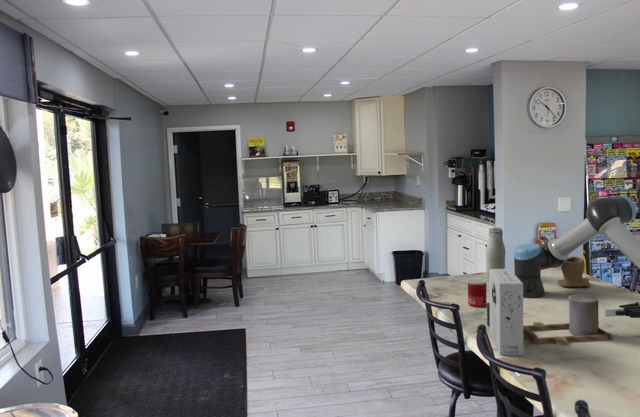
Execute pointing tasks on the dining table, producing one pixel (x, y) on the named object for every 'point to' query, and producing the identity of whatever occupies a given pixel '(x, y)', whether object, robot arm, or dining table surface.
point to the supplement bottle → (488, 313)
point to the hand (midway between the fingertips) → (605, 312)
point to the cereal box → (506, 311)
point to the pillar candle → (583, 315)
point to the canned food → (477, 293)
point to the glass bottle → (495, 250)
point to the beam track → (560, 340)
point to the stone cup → (573, 273)
